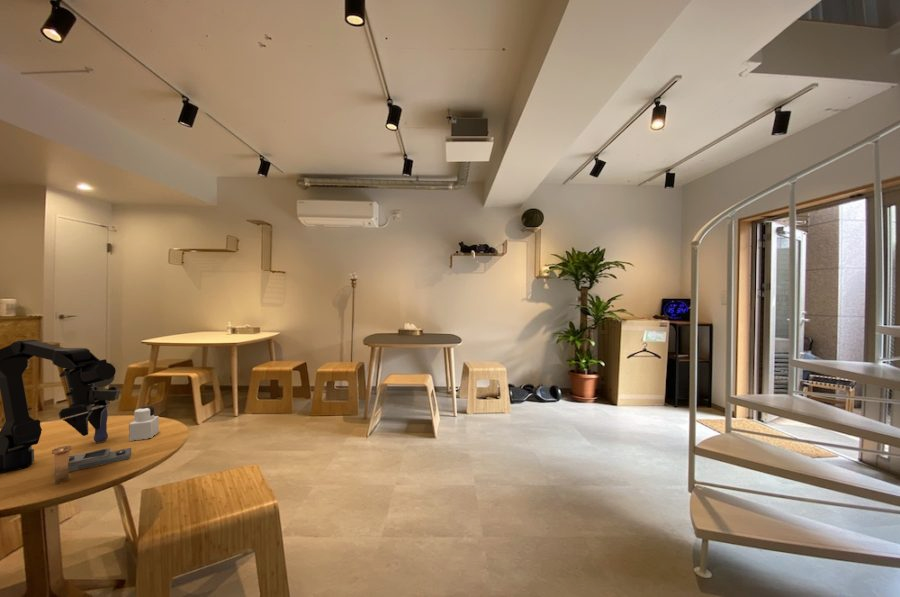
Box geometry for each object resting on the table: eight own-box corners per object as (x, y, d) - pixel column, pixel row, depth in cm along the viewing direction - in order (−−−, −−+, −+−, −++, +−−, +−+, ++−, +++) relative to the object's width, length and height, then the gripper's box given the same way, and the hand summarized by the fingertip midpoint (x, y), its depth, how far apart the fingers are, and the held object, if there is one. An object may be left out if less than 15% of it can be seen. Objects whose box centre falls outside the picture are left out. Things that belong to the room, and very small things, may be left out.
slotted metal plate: (57, 474, 110) (57, 463, 110) (62, 465, 115) (62, 455, 115) (129, 458, 121) (129, 448, 121) (131, 451, 126) (131, 441, 126)
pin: (50, 485, 103) (50, 452, 103) (53, 480, 106) (53, 448, 106) (69, 481, 106) (69, 449, 106) (72, 476, 109) (72, 444, 109)
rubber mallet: (116, 443, 133) (116, 367, 133) (88, 450, 127) (88, 370, 127) (112, 434, 141) (111, 363, 141) (85, 440, 135) (85, 365, 135)
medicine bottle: (137, 434, 141) (137, 406, 141) (159, 432, 144) (159, 404, 144) (128, 441, 135) (128, 411, 135) (151, 439, 137) (151, 409, 137)
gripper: (102, 380, 108) (113, 428, 108) (123, 376, 124) (133, 418, 124) (52, 392, 102) (64, 443, 102) (81, 386, 118) (92, 430, 118)
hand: (92, 432), depth 112 cm, fingers open, 9 cm apart
